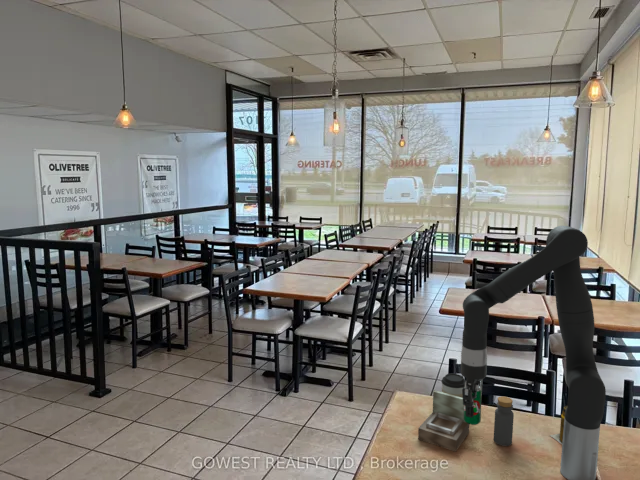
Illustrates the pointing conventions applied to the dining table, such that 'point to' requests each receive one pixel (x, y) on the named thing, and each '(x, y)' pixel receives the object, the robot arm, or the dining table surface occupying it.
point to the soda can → (475, 410)
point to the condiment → (560, 436)
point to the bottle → (503, 421)
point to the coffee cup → (453, 384)
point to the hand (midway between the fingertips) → (472, 412)
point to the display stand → (445, 422)
